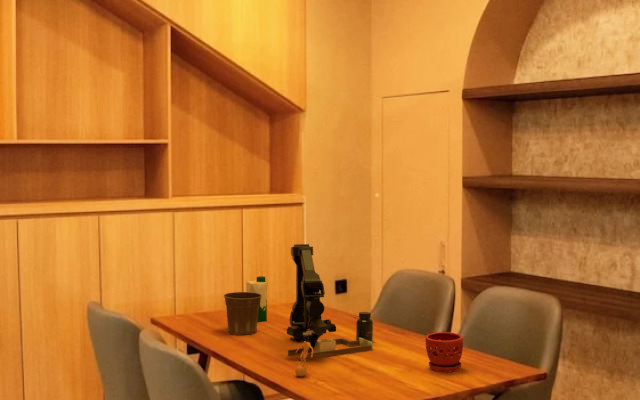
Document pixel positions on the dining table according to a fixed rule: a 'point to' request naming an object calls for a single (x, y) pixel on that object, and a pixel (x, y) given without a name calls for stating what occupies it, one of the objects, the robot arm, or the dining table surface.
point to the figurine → (301, 368)
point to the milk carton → (261, 288)
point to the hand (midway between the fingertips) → (311, 351)
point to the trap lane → (363, 343)
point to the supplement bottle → (364, 326)
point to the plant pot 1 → (242, 312)
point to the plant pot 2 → (444, 351)
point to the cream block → (324, 345)
